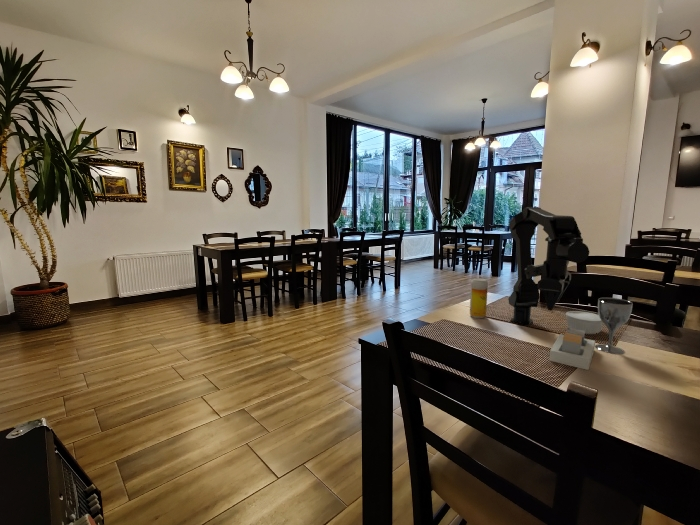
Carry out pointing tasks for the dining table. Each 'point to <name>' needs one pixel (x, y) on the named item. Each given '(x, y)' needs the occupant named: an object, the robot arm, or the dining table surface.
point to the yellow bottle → (478, 297)
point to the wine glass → (613, 319)
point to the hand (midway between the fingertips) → (552, 306)
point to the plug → (572, 343)
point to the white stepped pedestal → (573, 359)
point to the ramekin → (584, 321)
